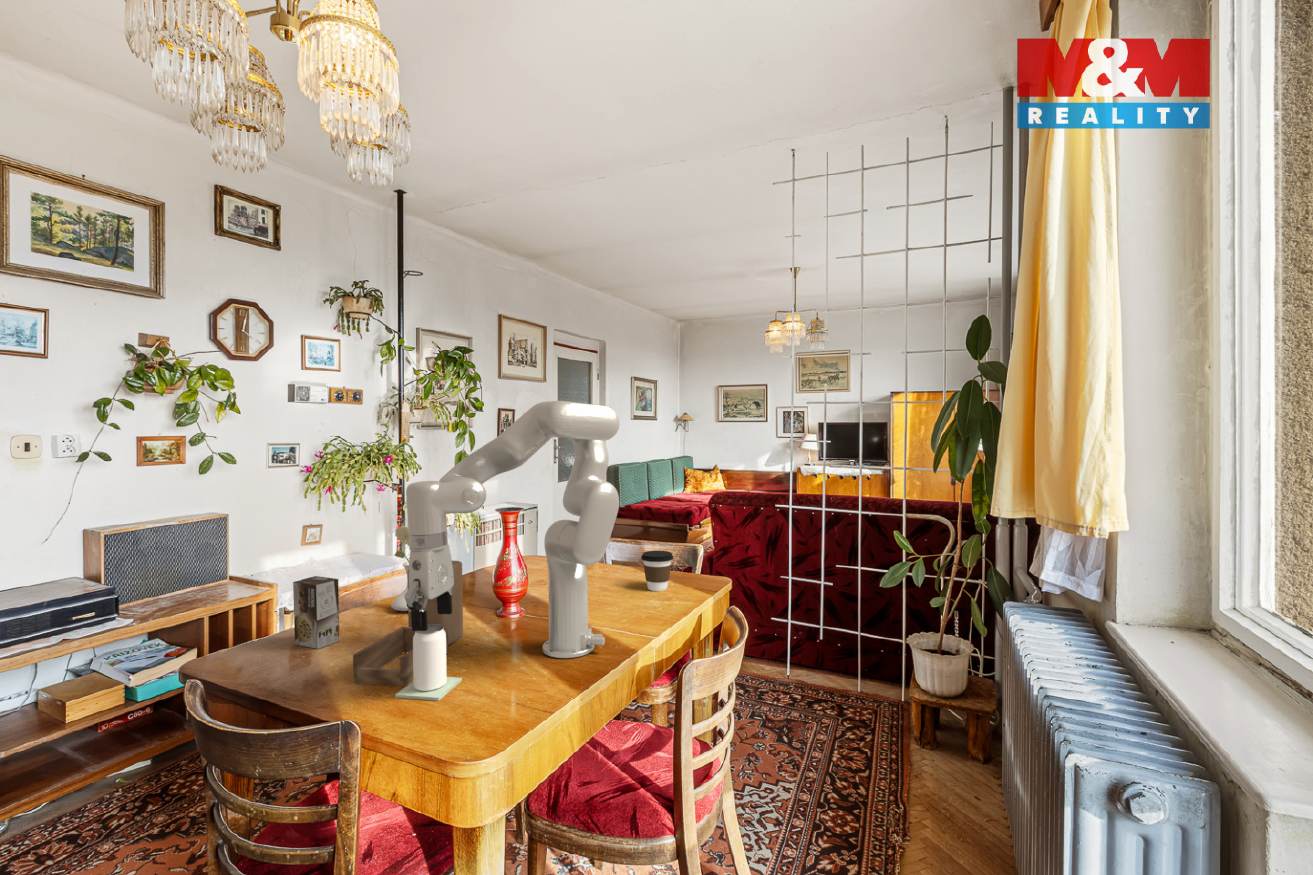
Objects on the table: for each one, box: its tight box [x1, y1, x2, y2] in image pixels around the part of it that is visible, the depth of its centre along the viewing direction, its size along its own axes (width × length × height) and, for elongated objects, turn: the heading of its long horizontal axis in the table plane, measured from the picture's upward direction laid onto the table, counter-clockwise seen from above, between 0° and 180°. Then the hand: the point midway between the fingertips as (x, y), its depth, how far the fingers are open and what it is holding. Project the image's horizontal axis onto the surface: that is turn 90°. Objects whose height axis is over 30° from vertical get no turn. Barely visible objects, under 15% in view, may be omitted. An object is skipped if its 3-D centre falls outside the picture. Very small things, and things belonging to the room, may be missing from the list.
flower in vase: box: [390, 525, 410, 612], centre depth 179 cm, size 13×11×25 cm
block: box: [407, 560, 464, 646], centre depth 150 cm, size 10×10×20 cm
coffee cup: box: [640, 550, 674, 592], centre depth 198 cm, size 11×11×12 cm
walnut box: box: [352, 626, 449, 687], centre depth 134 cm, size 12×18×6 cm, turn 171°
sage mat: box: [394, 676, 463, 702], centre depth 123 cm, size 10×10×1 cm
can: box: [412, 624, 448, 692], centre depth 123 cm, size 6×6×12 cm
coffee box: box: [292, 575, 340, 650], centre depth 150 cm, size 9×6×16 cm
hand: (433, 621), depth 123 cm, fingers open, 9 cm apart
